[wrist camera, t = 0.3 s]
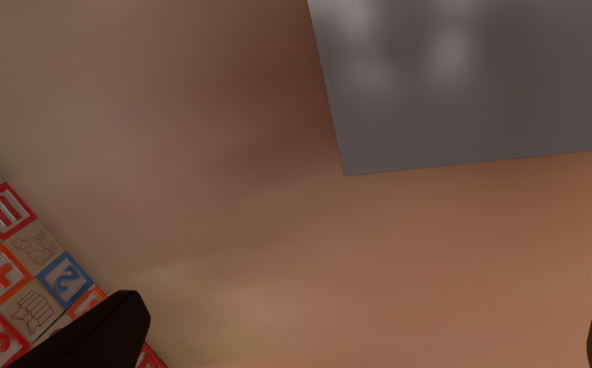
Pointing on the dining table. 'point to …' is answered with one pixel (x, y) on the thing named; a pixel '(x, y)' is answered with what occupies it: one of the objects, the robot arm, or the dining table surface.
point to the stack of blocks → (39, 284)
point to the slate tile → (455, 80)
